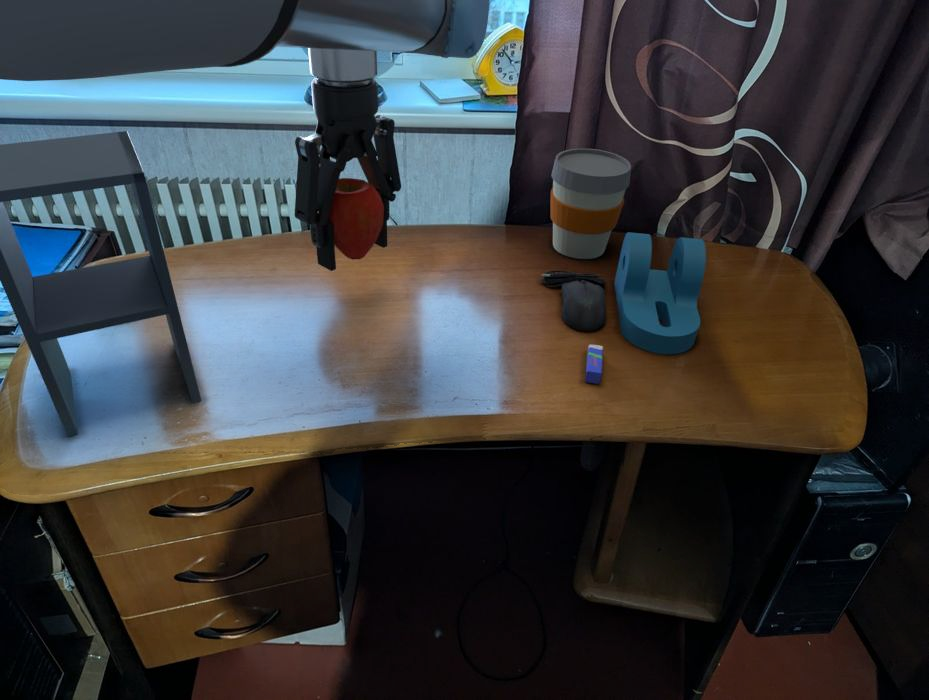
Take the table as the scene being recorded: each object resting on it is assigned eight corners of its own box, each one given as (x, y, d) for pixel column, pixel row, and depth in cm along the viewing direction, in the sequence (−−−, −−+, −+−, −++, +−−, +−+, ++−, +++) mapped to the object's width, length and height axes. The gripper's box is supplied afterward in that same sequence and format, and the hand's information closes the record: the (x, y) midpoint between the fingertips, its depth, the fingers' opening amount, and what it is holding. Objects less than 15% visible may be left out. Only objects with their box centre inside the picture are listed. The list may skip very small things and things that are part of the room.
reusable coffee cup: (630, 250, 113) (649, 166, 104) (581, 272, 106) (597, 183, 97) (575, 223, 120) (589, 142, 112) (527, 242, 114) (537, 157, 105)
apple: (308, 256, 88) (300, 178, 82) (356, 236, 93) (353, 162, 87) (350, 279, 84) (345, 199, 77) (398, 257, 89) (398, 181, 83)
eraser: (601, 357, 88) (604, 345, 87) (599, 385, 83) (602, 372, 82) (586, 355, 88) (589, 343, 87) (583, 382, 84) (586, 370, 82)
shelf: (201, 400, 77) (143, 171, 61) (67, 437, 72) (-37, 195, 55) (182, 345, 86) (127, 130, 69) (61, 374, 80) (-32, 147, 63)
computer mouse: (549, 331, 92) (553, 308, 90) (539, 278, 104) (542, 257, 102) (621, 334, 93) (626, 311, 90) (602, 280, 104) (607, 259, 102)
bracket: (614, 282, 104) (627, 221, 98) (681, 289, 103) (699, 228, 97) (622, 349, 90) (638, 283, 83) (700, 358, 89) (722, 292, 83)
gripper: (388, 58, 84) (390, 222, 97) (244, 86, 70) (270, 272, 83) (431, 70, 80) (428, 238, 93) (288, 102, 66) (308, 294, 80)
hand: (353, 254), depth 88 cm, fingers closed on apple, 8 cm apart
